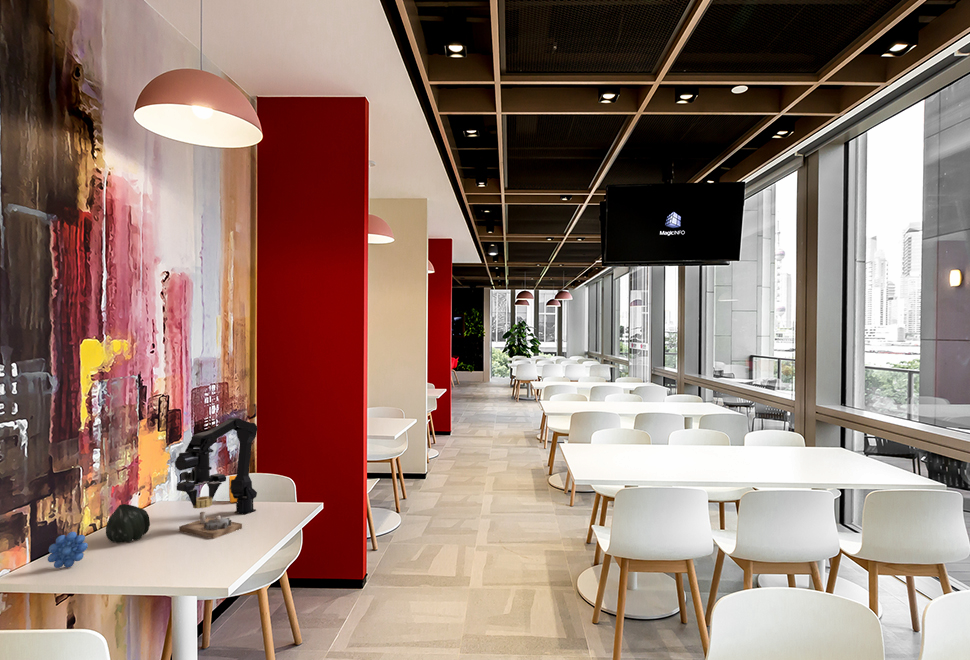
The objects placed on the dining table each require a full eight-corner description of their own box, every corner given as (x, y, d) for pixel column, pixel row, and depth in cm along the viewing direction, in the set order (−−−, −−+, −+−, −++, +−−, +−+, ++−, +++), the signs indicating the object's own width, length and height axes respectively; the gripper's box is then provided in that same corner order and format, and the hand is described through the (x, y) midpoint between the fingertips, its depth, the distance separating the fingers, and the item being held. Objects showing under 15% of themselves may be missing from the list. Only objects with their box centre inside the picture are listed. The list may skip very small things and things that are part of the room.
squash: (161, 516, 232) (132, 492, 229) (152, 529, 218) (121, 503, 215) (132, 543, 229) (102, 519, 226) (121, 558, 215) (89, 532, 211)
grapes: (92, 560, 201) (91, 526, 201) (85, 567, 194) (84, 532, 194) (53, 565, 197) (52, 530, 197) (44, 572, 191) (44, 536, 191)
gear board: (208, 522, 242) (208, 506, 242) (241, 528, 232) (241, 512, 232) (179, 531, 230) (179, 515, 230) (213, 538, 220) (213, 521, 220)
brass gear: (204, 502, 238) (204, 495, 238) (215, 504, 235) (215, 497, 235) (189, 507, 232) (189, 499, 232) (200, 509, 229) (200, 501, 229)
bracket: (247, 501, 272) (246, 476, 272) (230, 504, 269) (230, 478, 269) (245, 496, 281) (244, 472, 282) (229, 498, 278) (228, 474, 278)
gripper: (209, 459, 246) (210, 495, 246) (167, 468, 229) (168, 507, 229) (226, 461, 241) (227, 498, 240) (185, 470, 224) (185, 510, 224)
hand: (202, 503), depth 234 cm, fingers closed on brass gear, 7 cm apart
